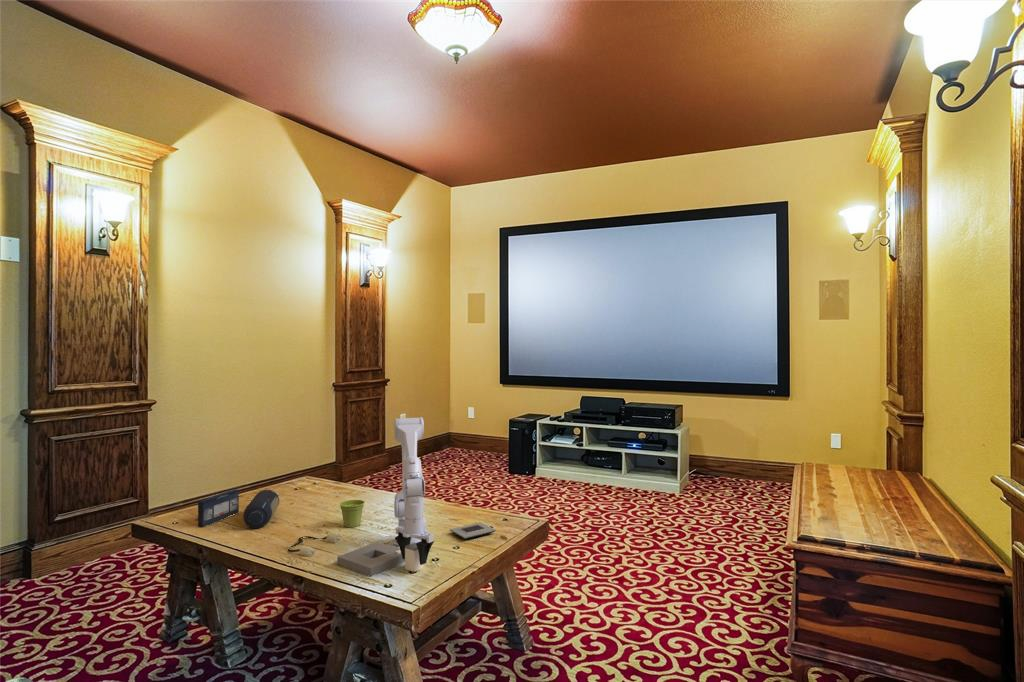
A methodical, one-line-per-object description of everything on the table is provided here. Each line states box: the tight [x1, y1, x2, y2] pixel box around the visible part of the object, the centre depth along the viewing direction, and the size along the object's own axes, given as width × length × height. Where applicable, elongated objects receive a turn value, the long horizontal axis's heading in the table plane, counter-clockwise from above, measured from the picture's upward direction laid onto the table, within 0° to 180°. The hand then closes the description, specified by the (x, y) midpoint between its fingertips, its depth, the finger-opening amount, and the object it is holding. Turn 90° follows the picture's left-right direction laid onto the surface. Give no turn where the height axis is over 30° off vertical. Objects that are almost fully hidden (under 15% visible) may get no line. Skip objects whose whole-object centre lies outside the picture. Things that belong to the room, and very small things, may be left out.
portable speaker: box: [242, 489, 280, 529], centre depth 223 cm, size 25×10×10 cm, turn 13°
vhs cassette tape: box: [197, 488, 240, 528], centre depth 224 cm, size 18×3×10 cm, turn 162°
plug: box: [404, 542, 425, 573], centre depth 175 cm, size 4×4×7 cm
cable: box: [287, 532, 341, 557], centre depth 195 cm, size 16×16×4 cm
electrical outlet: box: [449, 521, 497, 540], centre depth 206 cm, size 13×10×2 cm
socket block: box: [336, 541, 405, 577], centre depth 180 cm, size 16×16×3 cm
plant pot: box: [338, 499, 366, 528], centre depth 216 cm, size 9×9×9 cm
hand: (414, 560), depth 175 cm, fingers open, 7 cm apart
